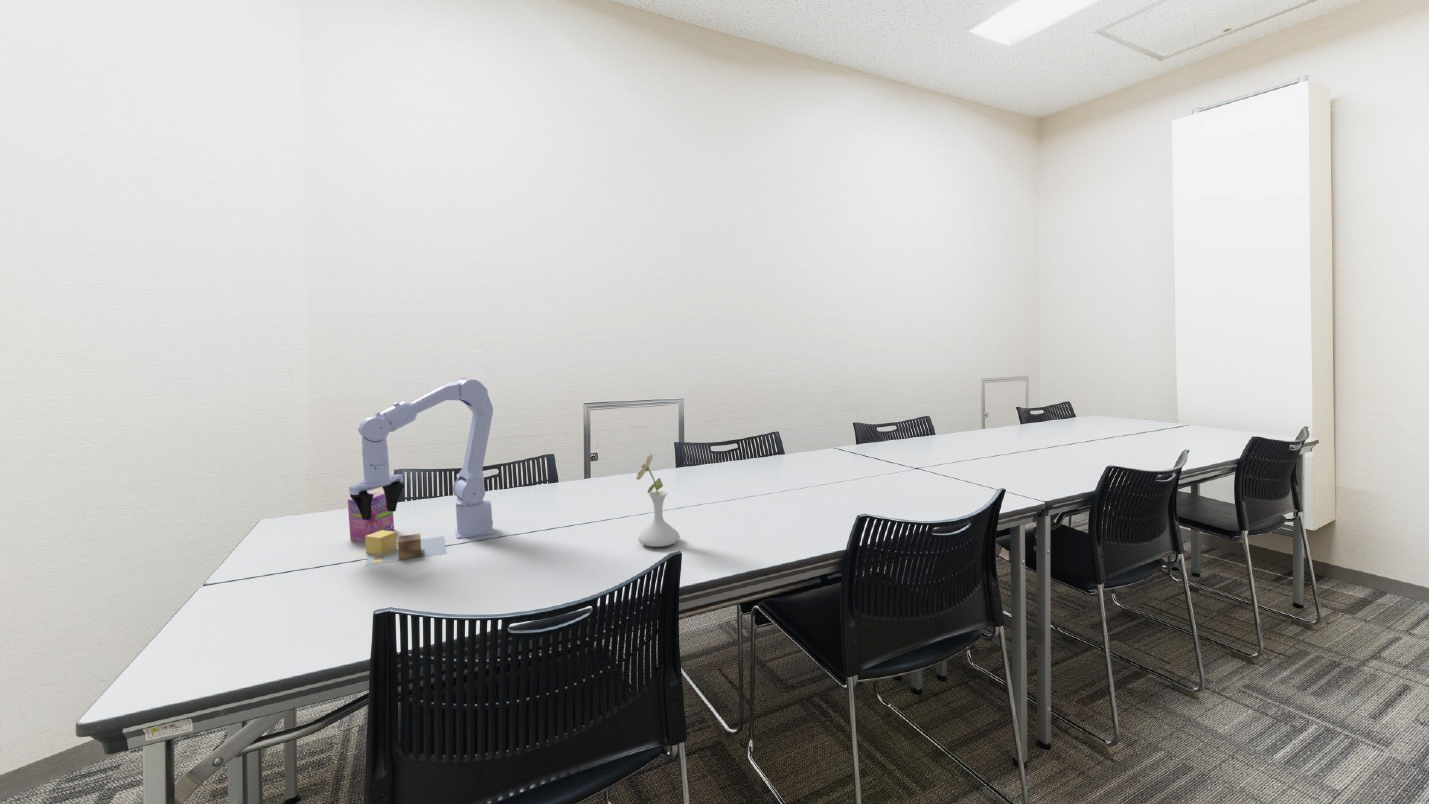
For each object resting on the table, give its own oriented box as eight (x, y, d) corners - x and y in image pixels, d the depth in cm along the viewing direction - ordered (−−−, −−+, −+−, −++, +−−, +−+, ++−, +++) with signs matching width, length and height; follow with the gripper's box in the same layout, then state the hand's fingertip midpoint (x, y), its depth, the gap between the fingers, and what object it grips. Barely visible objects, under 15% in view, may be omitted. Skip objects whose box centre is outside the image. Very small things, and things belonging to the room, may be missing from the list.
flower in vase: (653, 533, 167) (652, 446, 165) (687, 540, 162) (686, 450, 159) (624, 548, 156) (622, 455, 153) (660, 555, 150) (658, 459, 148)
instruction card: (444, 536, 166) (444, 535, 166) (446, 554, 152) (446, 553, 152) (370, 547, 158) (370, 546, 158) (365, 566, 144) (365, 565, 144)
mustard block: (382, 546, 158) (381, 530, 157) (397, 548, 156) (396, 531, 156) (366, 552, 153) (365, 536, 152) (381, 555, 151) (380, 538, 151)
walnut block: (421, 550, 155) (420, 533, 154) (421, 556, 150) (420, 539, 150) (399, 553, 152) (398, 536, 152) (399, 559, 148) (397, 542, 147)
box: (367, 542, 162) (364, 500, 161) (349, 540, 163) (346, 499, 162) (395, 530, 172) (392, 490, 171) (378, 528, 173) (375, 489, 172)
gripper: (387, 457, 160) (390, 506, 162) (338, 468, 146) (342, 521, 148) (408, 459, 158) (411, 508, 159) (360, 470, 144) (364, 524, 146)
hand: (379, 515), depth 153 cm, fingers open, 7 cm apart
